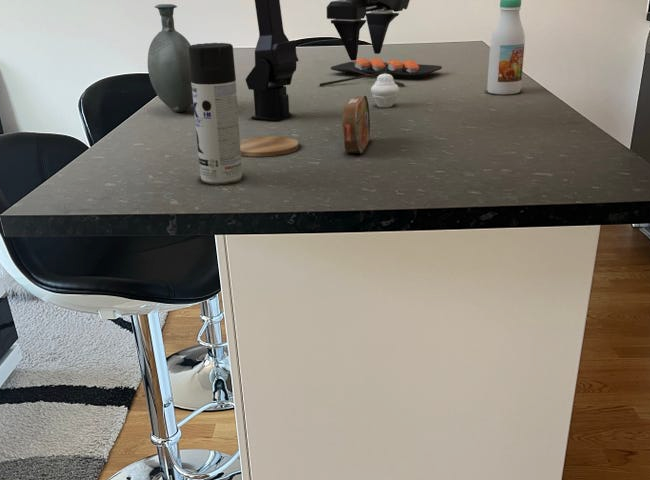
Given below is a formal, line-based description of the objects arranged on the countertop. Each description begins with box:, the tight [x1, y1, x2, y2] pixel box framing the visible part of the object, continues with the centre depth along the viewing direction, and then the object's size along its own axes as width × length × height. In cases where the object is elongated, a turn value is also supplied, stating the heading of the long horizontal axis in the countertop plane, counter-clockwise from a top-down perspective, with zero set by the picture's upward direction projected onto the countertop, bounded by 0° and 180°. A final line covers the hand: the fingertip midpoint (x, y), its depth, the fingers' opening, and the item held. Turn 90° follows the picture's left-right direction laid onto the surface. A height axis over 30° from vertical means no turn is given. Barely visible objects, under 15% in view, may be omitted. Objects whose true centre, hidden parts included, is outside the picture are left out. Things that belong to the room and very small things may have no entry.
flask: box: [147, 3, 194, 113], centre depth 168 cm, size 12×17×22 cm
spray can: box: [189, 42, 243, 185], centre depth 118 cm, size 7×7×20 cm
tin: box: [341, 94, 371, 155], centre depth 136 cm, size 15×3×8 cm, turn 168°
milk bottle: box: [486, 0, 526, 95], centre depth 177 cm, size 8×8×20 cm
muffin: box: [370, 73, 400, 108], centre depth 170 cm, size 6×6×7 cm
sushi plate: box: [319, 57, 443, 87], centre depth 203 cm, size 29×30×4 cm
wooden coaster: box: [240, 136, 299, 158], centre depth 140 cm, size 12×12×1 cm
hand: (365, 56), depth 145 cm, fingers open, 9 cm apart
